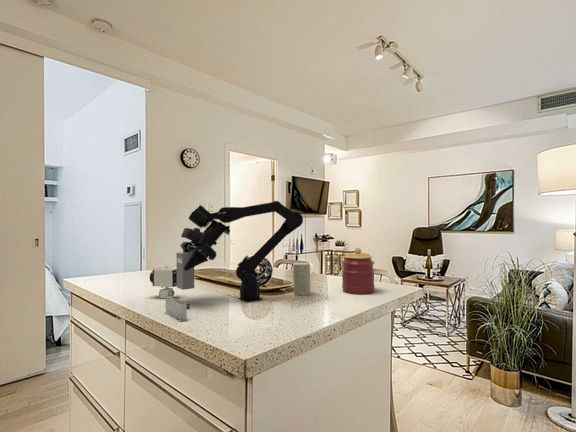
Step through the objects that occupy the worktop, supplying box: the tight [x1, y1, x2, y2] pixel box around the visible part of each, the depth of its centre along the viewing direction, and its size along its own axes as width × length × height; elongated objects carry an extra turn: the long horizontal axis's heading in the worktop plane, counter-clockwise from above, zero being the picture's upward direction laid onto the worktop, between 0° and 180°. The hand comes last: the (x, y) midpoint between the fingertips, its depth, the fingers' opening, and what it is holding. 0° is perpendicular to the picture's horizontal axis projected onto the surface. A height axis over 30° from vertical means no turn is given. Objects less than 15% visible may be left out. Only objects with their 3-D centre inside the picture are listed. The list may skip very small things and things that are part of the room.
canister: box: [341, 247, 376, 295], centre depth 134 cm, size 13×13×18 cm
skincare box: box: [292, 262, 311, 296], centre depth 130 cm, size 6×4×12 cm
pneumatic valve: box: [149, 265, 177, 300], centre depth 126 cm, size 6×12×12 cm, turn 78°
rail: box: [165, 296, 191, 322], centre depth 101 cm, size 3×13×5 cm, turn 39°
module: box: [175, 251, 195, 291], centre depth 114 cm, size 4×6×12 cm
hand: (181, 268), depth 113 cm, fingers closed on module, 5 cm apart
